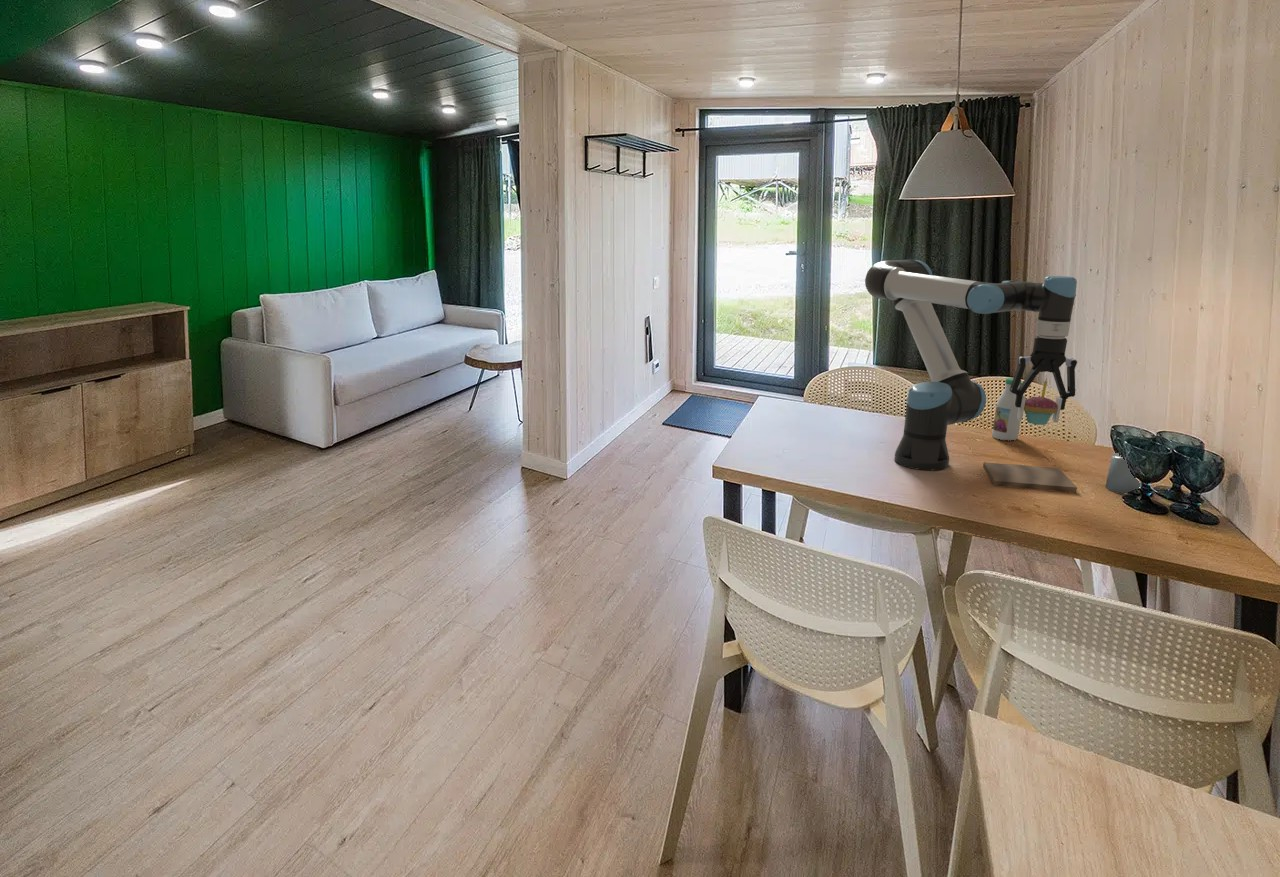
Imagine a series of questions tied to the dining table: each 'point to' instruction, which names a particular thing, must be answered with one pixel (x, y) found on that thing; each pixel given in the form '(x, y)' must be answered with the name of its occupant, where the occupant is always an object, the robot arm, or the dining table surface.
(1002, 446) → the dining table surface
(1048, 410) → the cupcake
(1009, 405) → the milk bottle
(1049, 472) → the walnut board
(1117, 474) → the grey rounded block
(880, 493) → the dining table surface
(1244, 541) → the dining table surface
